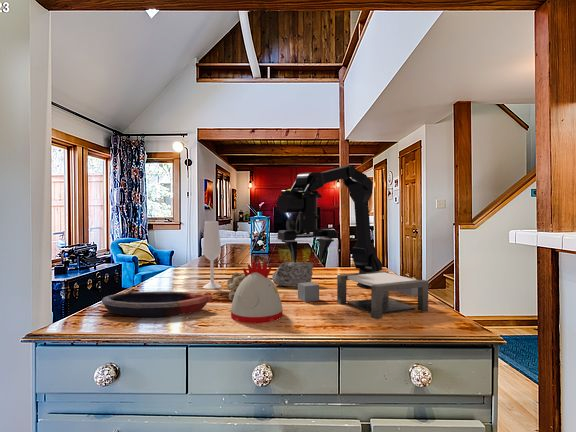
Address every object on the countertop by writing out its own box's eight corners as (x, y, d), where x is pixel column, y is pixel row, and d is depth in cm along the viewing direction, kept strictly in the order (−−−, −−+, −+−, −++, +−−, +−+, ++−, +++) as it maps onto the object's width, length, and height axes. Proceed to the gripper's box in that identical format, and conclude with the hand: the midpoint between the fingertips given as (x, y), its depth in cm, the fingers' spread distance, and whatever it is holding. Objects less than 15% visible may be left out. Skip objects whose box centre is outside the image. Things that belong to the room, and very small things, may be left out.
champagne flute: (199, 286, 144) (198, 221, 143) (215, 284, 148) (214, 220, 147) (209, 289, 139) (208, 221, 138) (225, 286, 143) (224, 221, 142)
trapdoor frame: (384, 296, 127) (384, 270, 127) (428, 311, 110) (428, 281, 110) (337, 302, 120) (337, 275, 119) (375, 319, 102) (376, 286, 102)
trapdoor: (394, 286, 126) (394, 271, 125) (427, 296, 113) (427, 278, 113) (347, 292, 118) (347, 275, 118) (376, 302, 105) (376, 284, 105)
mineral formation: (227, 303, 119) (219, 290, 133) (269, 307, 123) (257, 293, 137) (231, 277, 118) (223, 267, 132) (273, 282, 123) (261, 271, 137)
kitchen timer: (270, 326, 97) (270, 265, 97) (221, 320, 102) (221, 263, 101) (289, 311, 110) (289, 258, 110) (245, 307, 115) (245, 256, 114)
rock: (317, 282, 149) (312, 256, 149) (316, 286, 141) (311, 258, 141) (276, 288, 151) (272, 263, 151) (273, 293, 142) (268, 265, 143)
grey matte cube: (311, 297, 127) (311, 281, 127) (319, 300, 123) (319, 284, 123) (297, 298, 125) (297, 283, 125) (305, 302, 121) (304, 286, 120)
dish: (117, 304, 119) (117, 288, 119) (217, 305, 117) (217, 289, 117) (89, 319, 104) (88, 300, 103) (203, 320, 102) (203, 301, 102)
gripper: (321, 211, 135) (321, 257, 135) (270, 212, 127) (271, 260, 127) (338, 212, 124) (338, 261, 125) (284, 213, 117) (284, 265, 117)
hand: (307, 261), depth 124 cm, fingers open, 9 cm apart
